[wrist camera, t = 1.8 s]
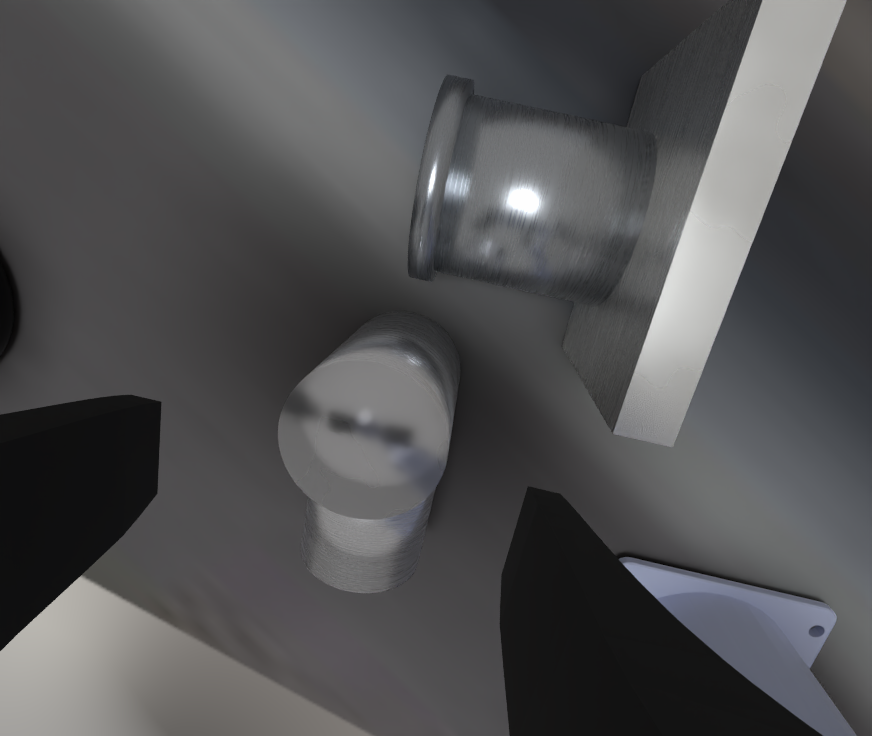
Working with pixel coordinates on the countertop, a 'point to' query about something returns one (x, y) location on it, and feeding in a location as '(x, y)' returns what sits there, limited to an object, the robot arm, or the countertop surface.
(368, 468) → the elbow
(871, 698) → the countertop surface
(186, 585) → the countertop surface
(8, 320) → the supplement bottle
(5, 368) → the countertop surface
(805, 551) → the countertop surface
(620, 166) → the duct stub
